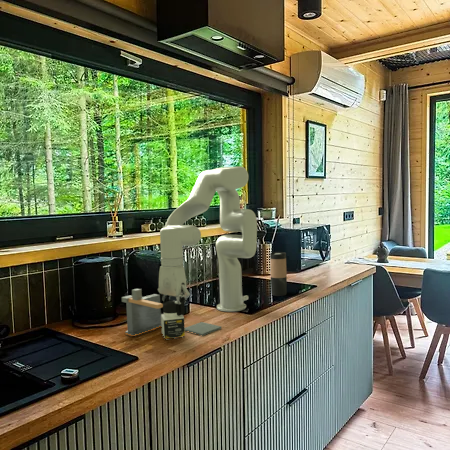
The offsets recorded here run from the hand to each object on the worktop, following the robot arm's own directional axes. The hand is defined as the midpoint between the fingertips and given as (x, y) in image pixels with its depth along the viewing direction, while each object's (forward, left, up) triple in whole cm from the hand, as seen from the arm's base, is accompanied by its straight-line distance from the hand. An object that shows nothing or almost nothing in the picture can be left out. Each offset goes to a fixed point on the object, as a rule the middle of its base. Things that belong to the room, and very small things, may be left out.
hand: (174, 312), depth 150 cm
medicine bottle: (+1, 0, -8) cm, 8 cm away
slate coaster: (-10, +4, -8) cm, 13 cm away
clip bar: (+10, -5, +4) cm, 12 cm away
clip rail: (+3, -13, -8) cm, 15 cm away
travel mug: (-70, -3, -8) cm, 71 cm away
